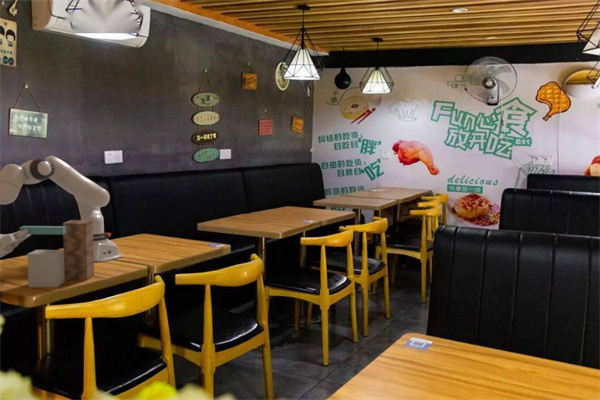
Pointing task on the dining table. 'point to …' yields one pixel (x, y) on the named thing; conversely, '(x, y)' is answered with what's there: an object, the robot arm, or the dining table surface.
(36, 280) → the grey block
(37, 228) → the rail
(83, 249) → the stand
